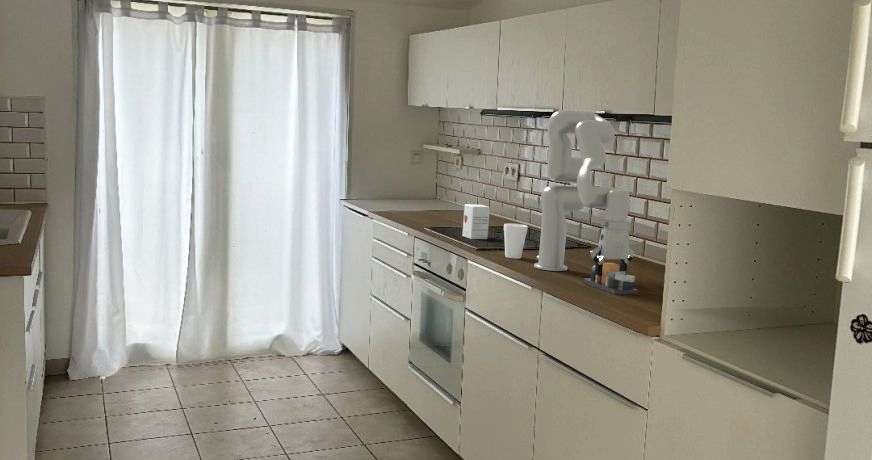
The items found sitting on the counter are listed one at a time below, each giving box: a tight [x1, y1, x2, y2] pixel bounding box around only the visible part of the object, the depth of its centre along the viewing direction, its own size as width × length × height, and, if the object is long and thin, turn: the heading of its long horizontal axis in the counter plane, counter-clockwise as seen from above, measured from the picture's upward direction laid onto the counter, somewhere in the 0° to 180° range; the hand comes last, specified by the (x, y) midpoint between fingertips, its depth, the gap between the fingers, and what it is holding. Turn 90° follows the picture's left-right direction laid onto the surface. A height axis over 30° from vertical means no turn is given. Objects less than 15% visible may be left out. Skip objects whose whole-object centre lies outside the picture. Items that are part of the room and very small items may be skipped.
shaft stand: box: [582, 264, 639, 296], centre depth 309 cm, size 20×9×6 cm, turn 22°
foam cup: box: [503, 223, 528, 259], centre depth 363 cm, size 10×9×13 cm
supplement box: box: [461, 203, 491, 240], centre depth 413 cm, size 9×9×15 cm
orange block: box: [601, 262, 620, 284], centre depth 308 cm, size 4×4×7 cm
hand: (610, 275), depth 308 cm, fingers open, 9 cm apart
